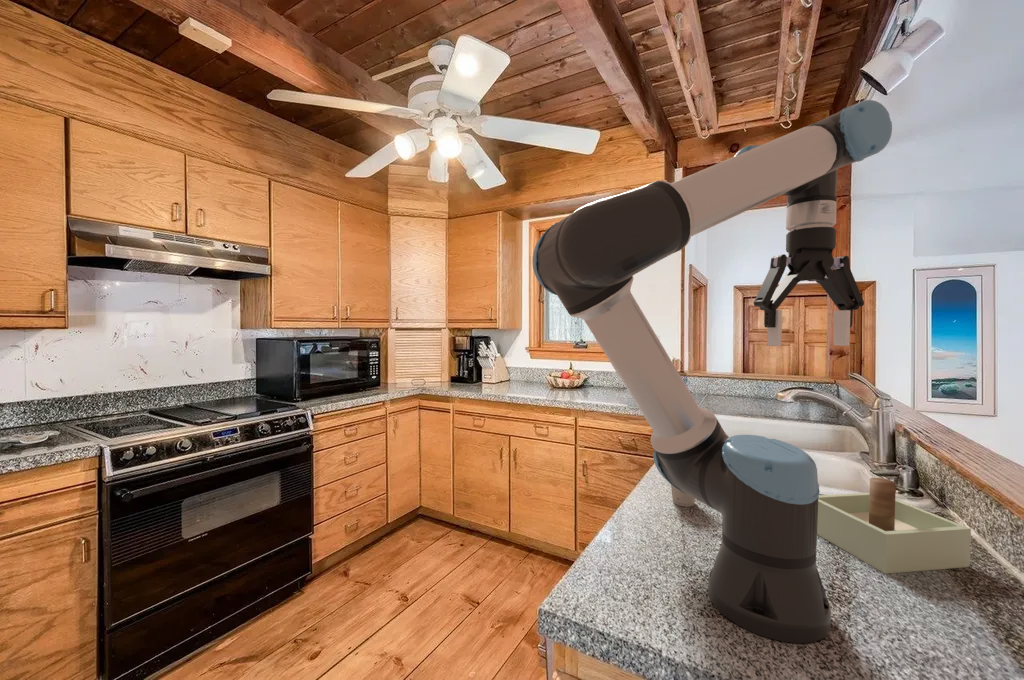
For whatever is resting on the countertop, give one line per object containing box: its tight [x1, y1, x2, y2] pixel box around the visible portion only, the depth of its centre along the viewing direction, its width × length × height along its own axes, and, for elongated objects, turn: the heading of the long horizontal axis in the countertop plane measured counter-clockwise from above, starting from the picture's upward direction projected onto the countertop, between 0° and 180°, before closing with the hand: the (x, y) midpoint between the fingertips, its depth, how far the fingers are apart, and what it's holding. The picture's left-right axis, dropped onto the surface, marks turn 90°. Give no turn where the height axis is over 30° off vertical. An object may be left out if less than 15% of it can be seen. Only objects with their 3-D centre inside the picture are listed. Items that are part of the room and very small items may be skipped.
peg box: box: [817, 492, 972, 575], centre depth 79 cm, size 16×16×6 cm
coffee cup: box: [670, 484, 696, 508], centre depth 99 cm, size 7×7×10 cm
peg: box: [869, 477, 897, 531], centre depth 79 cm, size 4×4×12 cm
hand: (808, 346), depth 80 cm, fingers open, 13 cm apart
